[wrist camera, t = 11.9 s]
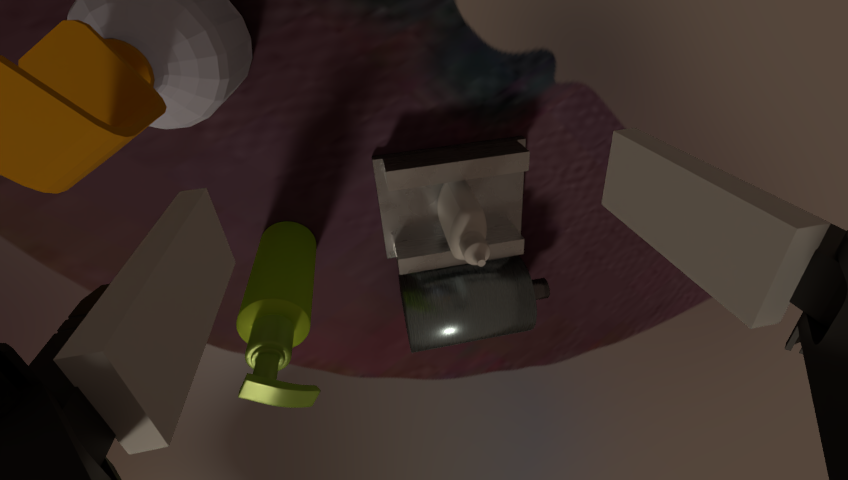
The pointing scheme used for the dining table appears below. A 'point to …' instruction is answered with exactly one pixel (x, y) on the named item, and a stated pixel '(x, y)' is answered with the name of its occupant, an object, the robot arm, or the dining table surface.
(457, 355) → the dining table surface
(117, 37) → the soap bottle
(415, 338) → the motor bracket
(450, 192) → the eye dropper bottle
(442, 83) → the dining table surface
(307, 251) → the soap dispenser
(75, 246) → the dining table surface
